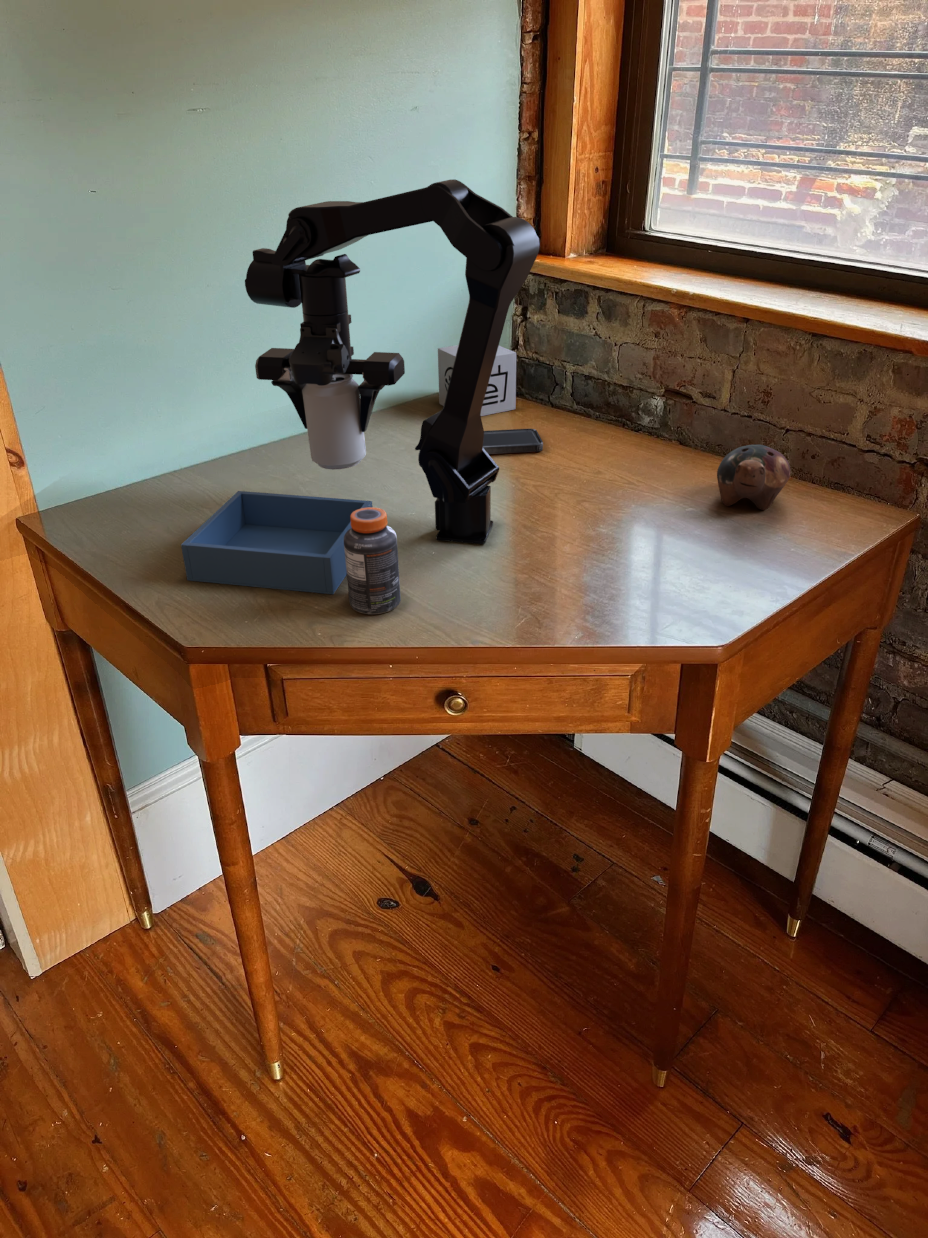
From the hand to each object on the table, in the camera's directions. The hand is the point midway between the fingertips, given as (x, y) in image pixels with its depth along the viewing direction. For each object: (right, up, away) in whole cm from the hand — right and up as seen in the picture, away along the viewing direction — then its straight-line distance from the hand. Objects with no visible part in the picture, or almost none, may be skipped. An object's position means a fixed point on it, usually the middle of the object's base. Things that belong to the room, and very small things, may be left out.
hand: (335, 429), depth 129 cm
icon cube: (+20, +13, +43) cm, 49 cm away
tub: (-5, -18, -8) cm, 20 cm away
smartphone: (+22, +3, +25) cm, 33 cm away
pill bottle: (+7, -24, -19) cm, 31 cm away
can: (0, -4, +2) cm, 5 cm away
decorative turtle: (+57, -9, +6) cm, 58 cm away
